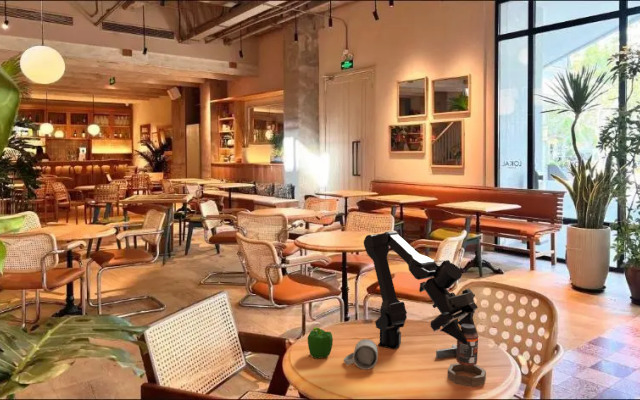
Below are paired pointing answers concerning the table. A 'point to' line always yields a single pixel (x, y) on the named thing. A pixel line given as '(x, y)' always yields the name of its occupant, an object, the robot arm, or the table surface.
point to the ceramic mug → (363, 355)
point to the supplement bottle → (468, 346)
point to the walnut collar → (466, 380)
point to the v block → (447, 352)
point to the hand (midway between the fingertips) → (471, 340)
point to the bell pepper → (320, 343)
